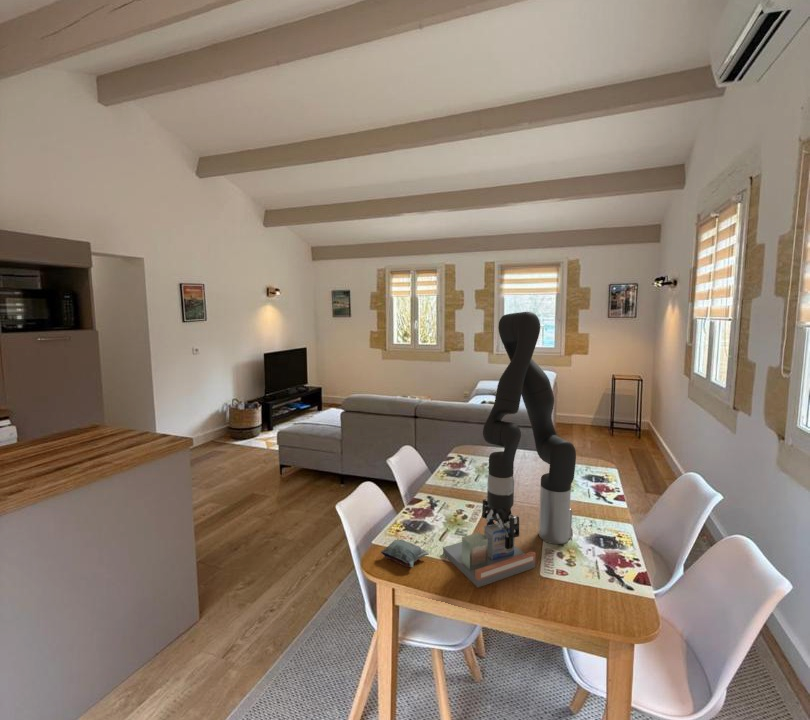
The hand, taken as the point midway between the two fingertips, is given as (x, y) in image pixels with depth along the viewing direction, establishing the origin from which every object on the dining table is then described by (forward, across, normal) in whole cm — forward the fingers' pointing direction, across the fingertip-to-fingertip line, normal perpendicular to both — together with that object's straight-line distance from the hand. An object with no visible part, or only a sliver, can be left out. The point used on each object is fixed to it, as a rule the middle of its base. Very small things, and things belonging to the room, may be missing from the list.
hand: (499, 540), depth 129 cm
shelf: (+6, -2, -3) cm, 7 cm away
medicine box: (+4, 0, 0) cm, 4 cm away
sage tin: (+4, +1, -10) cm, 10 cm away
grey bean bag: (+6, -14, -24) cm, 29 cm away
